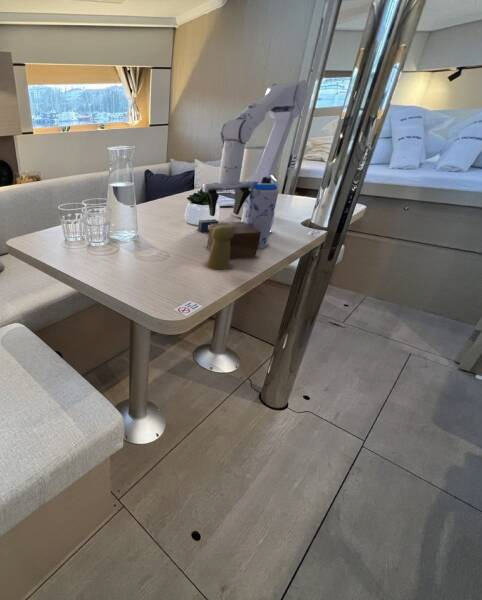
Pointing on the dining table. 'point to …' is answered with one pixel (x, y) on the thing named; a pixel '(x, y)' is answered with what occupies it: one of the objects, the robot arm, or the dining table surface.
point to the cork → (220, 248)
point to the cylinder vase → (251, 166)
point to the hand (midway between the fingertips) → (223, 214)
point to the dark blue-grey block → (205, 224)
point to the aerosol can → (262, 208)
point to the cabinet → (239, 240)
